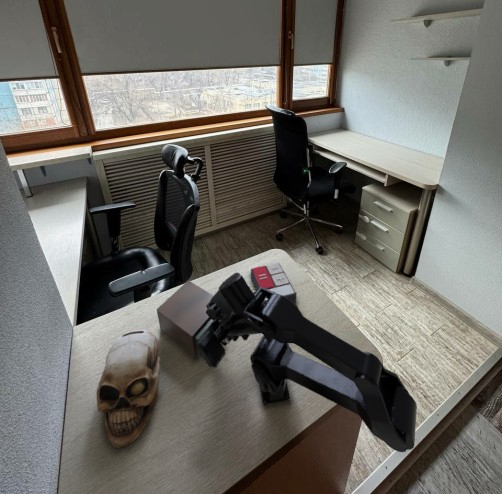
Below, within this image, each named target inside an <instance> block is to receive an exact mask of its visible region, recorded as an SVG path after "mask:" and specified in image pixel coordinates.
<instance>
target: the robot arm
mask: <svg viewBox="0 0 502 494" xmlns="http://www.w3.org/2000/svg"><path fill="white" fill-rule="evenodd" d="M265 298H267V299H268V300H267V302H266V303H265V304H264V305H262V303H263V301H264V300H265ZM206 307H207V308H208V309H207V310H206V314H207V315H208V316H209V317H210V318H211V319H212V320H213V321H214V323H213V324H212V330H213V331H214V333H213V332H211V331H208V332H206V333H205V334H204V335H203V336H202V337H201V339H200V340H199V341H198V342H197V343H196V348H197V350H198V351H199V353H200V354H201V358H202V359H203V361H204V362H205V364H206V365H207V367H208V368H217V367H218V365H219V364H220V363H221V361H222V360H223V358H224V357H225V356H226V353H227V352H226V351H227V350H226V349H225V347H226V346H227V345H229V344H230V342H232V341H233V342H237V341H238V339H239V338H240V337H241V338H242V340H243V341H247V340H248V339H249V337H250V336H253V335H258V334H262V335H263V336H262V337H261V338H260V340H259V342H258V343H257V345H256V347H254V350H253V351H252V353H251V354H250V357H249V358H250V360H249V361H250V363H251V365H250V367H251V370H252V373H253V375H254V378H255V381H256V382H257V383H258V384H259V389H260V395H261V396H260V397H261V401H262V404H263V405H271V404H276V403H281V402H282V403H283V402H287V401H289V400H290V399H291V394H290V391H289V386H288V382H287V380H290V381H292V382H293V383H296V384H297V385H299V386H301V387H303V388H305V389H308V391H311V392H313V393H315V394H317V395H319V396H321V397H322V398H325V399H326V400H329V401H330V402H332V403H335V404H336V405H338V406H341V407H342V408H344V409H346V410H348V411H350V412H352V413H354V414H356V415H358V416H359V418H360V419H361V421H362V422H363V423H364V425H365V426H366V427H367V429H368V430H369V431H370V433H371V434H372V435H373V436H374V437H376V438H378V439H379V440H380V441H382V442H384V444H385V445H387V446H388V447H389V448H390V449H392V450H393V451H395V452H398V453H406V452H407V451H410V450H413V449H414V448H415V442H416V441H415V440H416V426H417V413H418V412H417V411H418V410H417V409H418V405H417V401H416V400H415V398H414V397H413V396H412V395H411V394H410V392H409V391H408V389H407V387H406V386H405V384H404V382H403V381H402V380H401V378H400V377H399V375H398V374H397V373H395V372H393V371H391V370H389V369H387V368H386V367H385V365H384V364H383V363H382V361H381V360H380V358H378V357H377V356H376V355H375V354H373V353H372V352H369V351H362V350H361V349H359V348H357V347H356V346H354V345H352V344H350V343H348V342H347V341H346V340H343V339H342V338H341V337H338V336H337V335H335V334H333V333H332V332H330V331H328V330H326V329H325V328H323V327H321V326H320V325H318V324H317V323H315V322H313V321H312V320H310V319H308V318H307V317H306V316H304V315H303V314H302V311H301V310H300V308H299V306H298V305H297V304H296V303H293V302H291V301H290V300H288V299H287V298H286V297H284V296H283V295H280V294H278V293H275V292H273V291H270V290H268V289H266V288H263V287H260V289H259V290H258V291H253V290H252V288H251V287H250V286H249V284H248V283H247V281H246V280H245V278H244V277H243V275H241V273H240V272H238V271H237V272H235V273H233V274H231V275H230V276H228V278H226V279H225V280H224V281H223V282H222V283H221V284H220V285H219V287H218V290H217V291H216V292H215V293H214V294H213V297H212V298H211V300H210V302H209V303H208V304H207V305H206ZM289 344H294V345H296V346H297V347H299V348H300V349H302V350H303V351H305V352H307V353H309V355H311V356H313V357H314V358H315V359H317V360H319V361H320V362H322V363H323V364H322V363H320V362H318V361H315V360H313V359H311V358H309V357H306V356H304V355H301V354H300V353H297V352H295V351H293V349H292V348H291V346H290V345H289ZM324 364H325V365H324Z"/></svg>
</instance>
